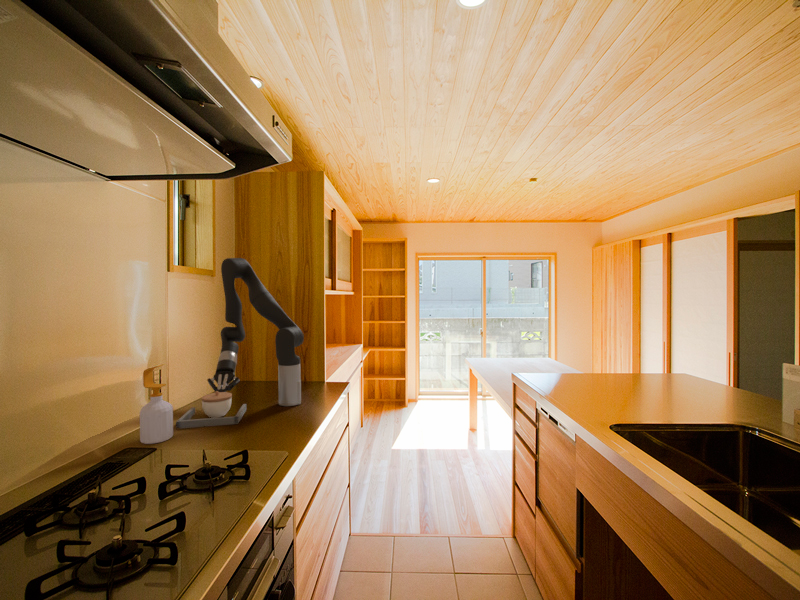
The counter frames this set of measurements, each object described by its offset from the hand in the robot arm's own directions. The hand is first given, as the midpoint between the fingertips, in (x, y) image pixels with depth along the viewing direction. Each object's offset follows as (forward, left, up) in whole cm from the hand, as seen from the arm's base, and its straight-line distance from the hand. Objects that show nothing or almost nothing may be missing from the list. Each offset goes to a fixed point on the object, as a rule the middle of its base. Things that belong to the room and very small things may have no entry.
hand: (219, 399), depth 148 cm
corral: (0, +9, -5) cm, 10 cm away
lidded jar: (0, +6, -5) cm, 8 cm away
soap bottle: (+13, +26, -5) cm, 30 cm away
